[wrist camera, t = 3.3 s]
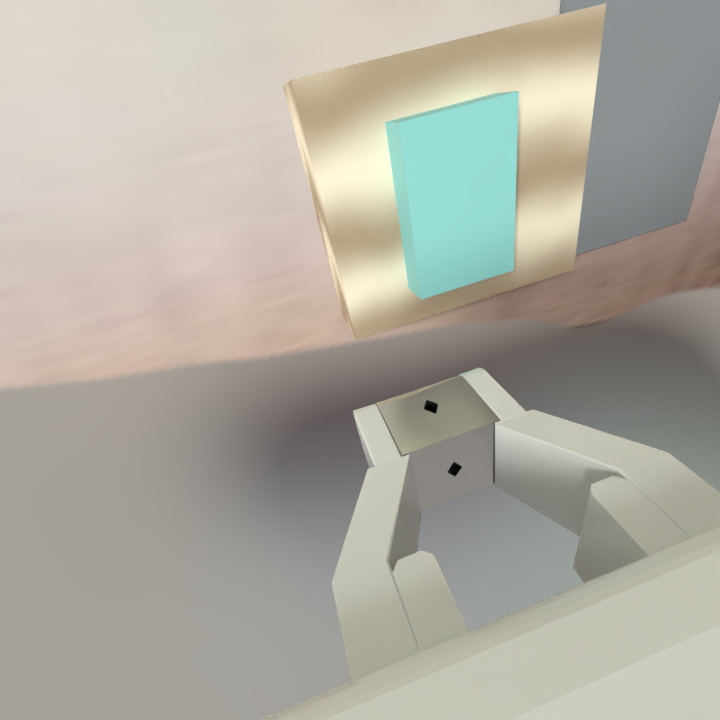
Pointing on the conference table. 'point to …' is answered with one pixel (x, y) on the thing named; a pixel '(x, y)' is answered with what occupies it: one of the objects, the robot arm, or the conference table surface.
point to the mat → (648, 115)
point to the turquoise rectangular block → (456, 191)
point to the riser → (428, 92)
